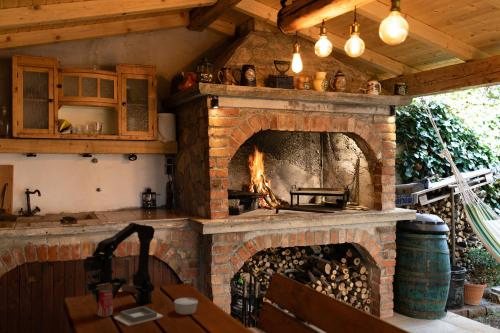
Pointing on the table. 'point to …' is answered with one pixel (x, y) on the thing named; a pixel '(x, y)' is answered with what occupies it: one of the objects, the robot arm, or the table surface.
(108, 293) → the soda can
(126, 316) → the holder board
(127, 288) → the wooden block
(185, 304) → the ramekin
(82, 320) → the table surface
